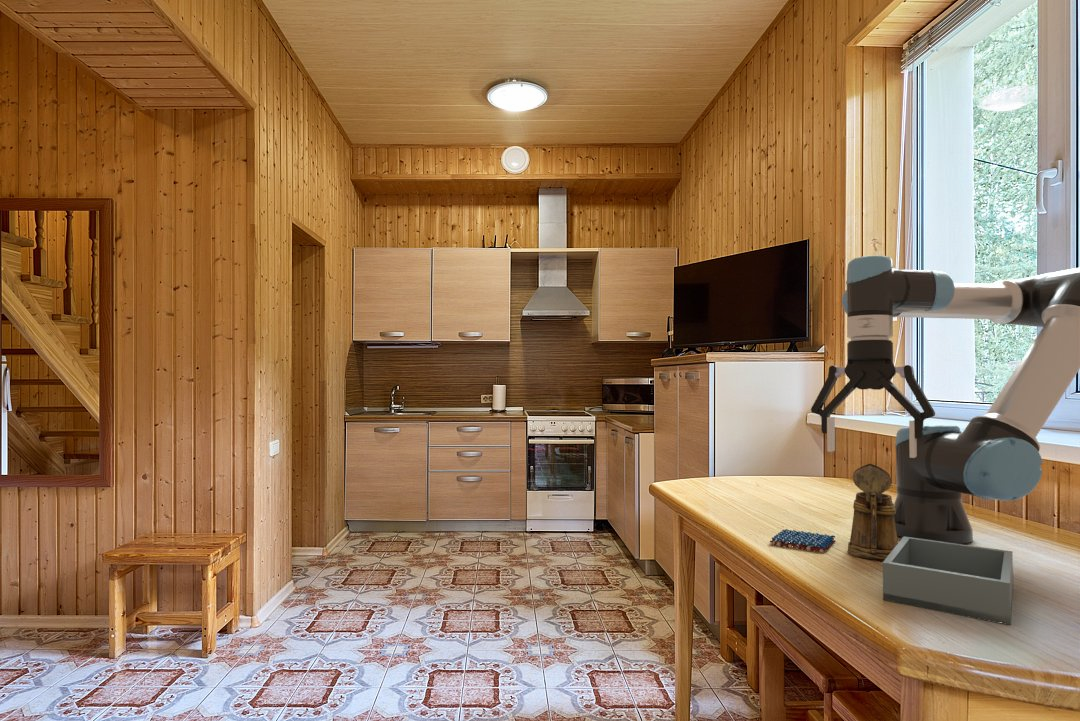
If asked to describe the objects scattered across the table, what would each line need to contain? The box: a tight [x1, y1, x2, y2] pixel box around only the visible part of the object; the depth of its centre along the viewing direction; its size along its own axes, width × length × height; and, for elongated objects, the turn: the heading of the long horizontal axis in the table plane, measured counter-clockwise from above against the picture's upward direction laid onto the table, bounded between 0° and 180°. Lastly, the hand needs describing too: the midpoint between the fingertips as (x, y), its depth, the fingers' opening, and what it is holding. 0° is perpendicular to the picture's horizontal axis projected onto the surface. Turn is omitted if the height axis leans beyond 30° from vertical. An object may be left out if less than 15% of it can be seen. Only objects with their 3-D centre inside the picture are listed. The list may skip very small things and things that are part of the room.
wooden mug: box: [847, 463, 899, 562], centre depth 113 cm, size 9×14×18 cm, turn 149°
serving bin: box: [882, 536, 1014, 626], centre depth 94 cm, size 20×15×6 cm
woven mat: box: [769, 528, 836, 554], centre depth 123 cm, size 10×11×2 cm
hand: (870, 454), depth 114 cm, fingers open, 13 cm apart
